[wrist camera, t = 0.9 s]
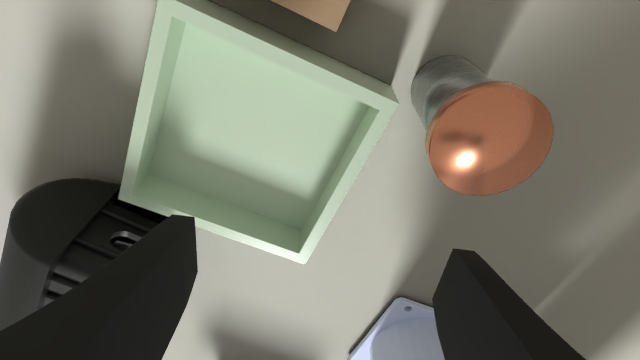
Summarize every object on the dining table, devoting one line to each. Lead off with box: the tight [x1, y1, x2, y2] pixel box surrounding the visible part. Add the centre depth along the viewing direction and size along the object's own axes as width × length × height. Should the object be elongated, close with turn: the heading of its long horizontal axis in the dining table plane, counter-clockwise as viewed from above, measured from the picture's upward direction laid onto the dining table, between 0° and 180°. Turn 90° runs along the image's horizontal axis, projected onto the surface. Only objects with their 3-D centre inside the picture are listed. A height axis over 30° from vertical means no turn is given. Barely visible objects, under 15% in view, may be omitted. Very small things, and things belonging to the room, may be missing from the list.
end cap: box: [0, 178, 168, 331], centre depth 21 cm, size 10×7×7 cm
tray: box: [118, 0, 399, 265], centre depth 18 cm, size 10×10×2 cm
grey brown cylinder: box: [411, 55, 553, 196], centre depth 15 cm, size 4×4×6 cm
